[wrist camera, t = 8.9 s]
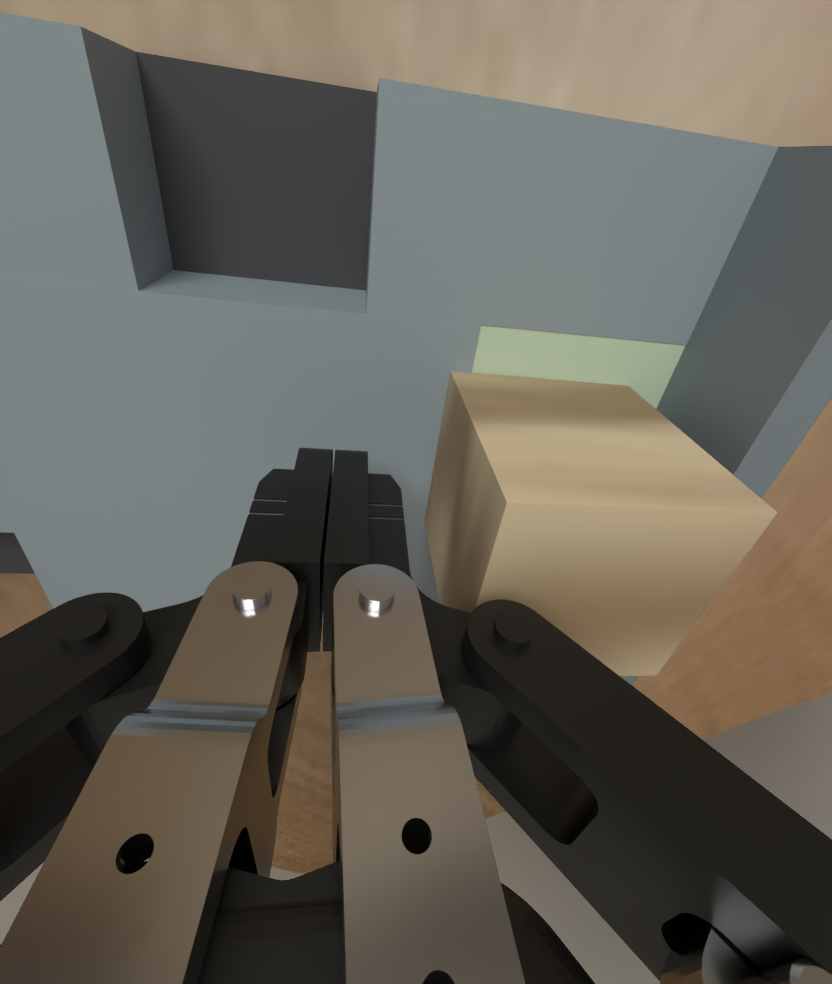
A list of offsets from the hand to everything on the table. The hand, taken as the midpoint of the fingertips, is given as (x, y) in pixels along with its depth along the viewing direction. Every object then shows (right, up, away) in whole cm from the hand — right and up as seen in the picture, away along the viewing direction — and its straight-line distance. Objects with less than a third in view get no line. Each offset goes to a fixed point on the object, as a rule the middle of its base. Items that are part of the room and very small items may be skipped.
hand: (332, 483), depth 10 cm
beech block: (+5, +1, +2) cm, 5 cm away
